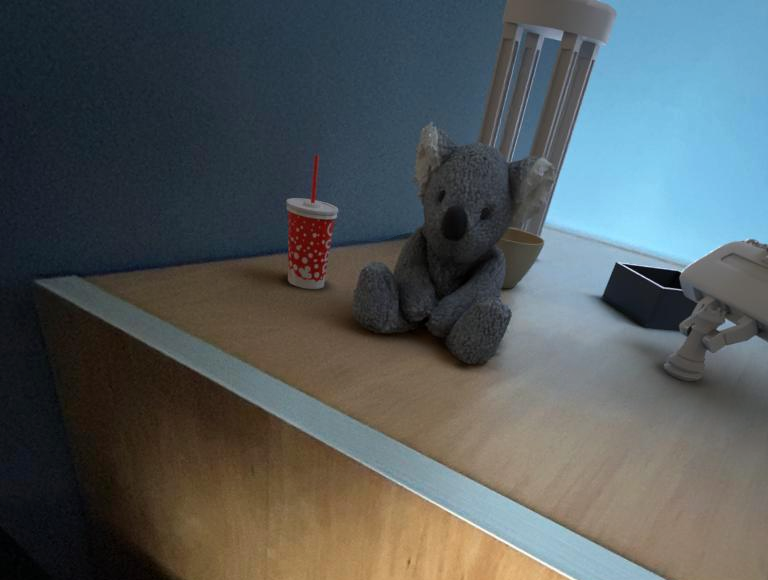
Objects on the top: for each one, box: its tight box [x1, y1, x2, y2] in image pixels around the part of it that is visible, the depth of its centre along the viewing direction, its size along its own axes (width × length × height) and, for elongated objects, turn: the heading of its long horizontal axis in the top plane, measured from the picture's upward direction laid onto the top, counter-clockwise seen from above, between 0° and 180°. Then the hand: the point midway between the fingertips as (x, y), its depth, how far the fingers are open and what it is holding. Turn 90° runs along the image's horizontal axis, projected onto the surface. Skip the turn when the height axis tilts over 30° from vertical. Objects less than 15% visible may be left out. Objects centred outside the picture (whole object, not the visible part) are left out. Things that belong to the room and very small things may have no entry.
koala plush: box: [352, 121, 558, 365], centre depth 61 cm, size 17×18×20 cm
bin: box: [601, 261, 698, 331], centre depth 87 cm, size 12×12×6 cm
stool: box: [476, 0, 618, 237], centre depth 93 cm, size 16×16×35 cm
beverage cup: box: [285, 154, 339, 290], centre depth 68 cm, size 6×6×14 cm
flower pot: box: [495, 227, 546, 289], centre depth 86 cm, size 10×10×7 cm
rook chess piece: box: [663, 305, 726, 382], centre depth 67 cm, size 4×4×8 cm
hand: (694, 339), depth 66 cm, fingers closed on rook chess piece, 3 cm apart
